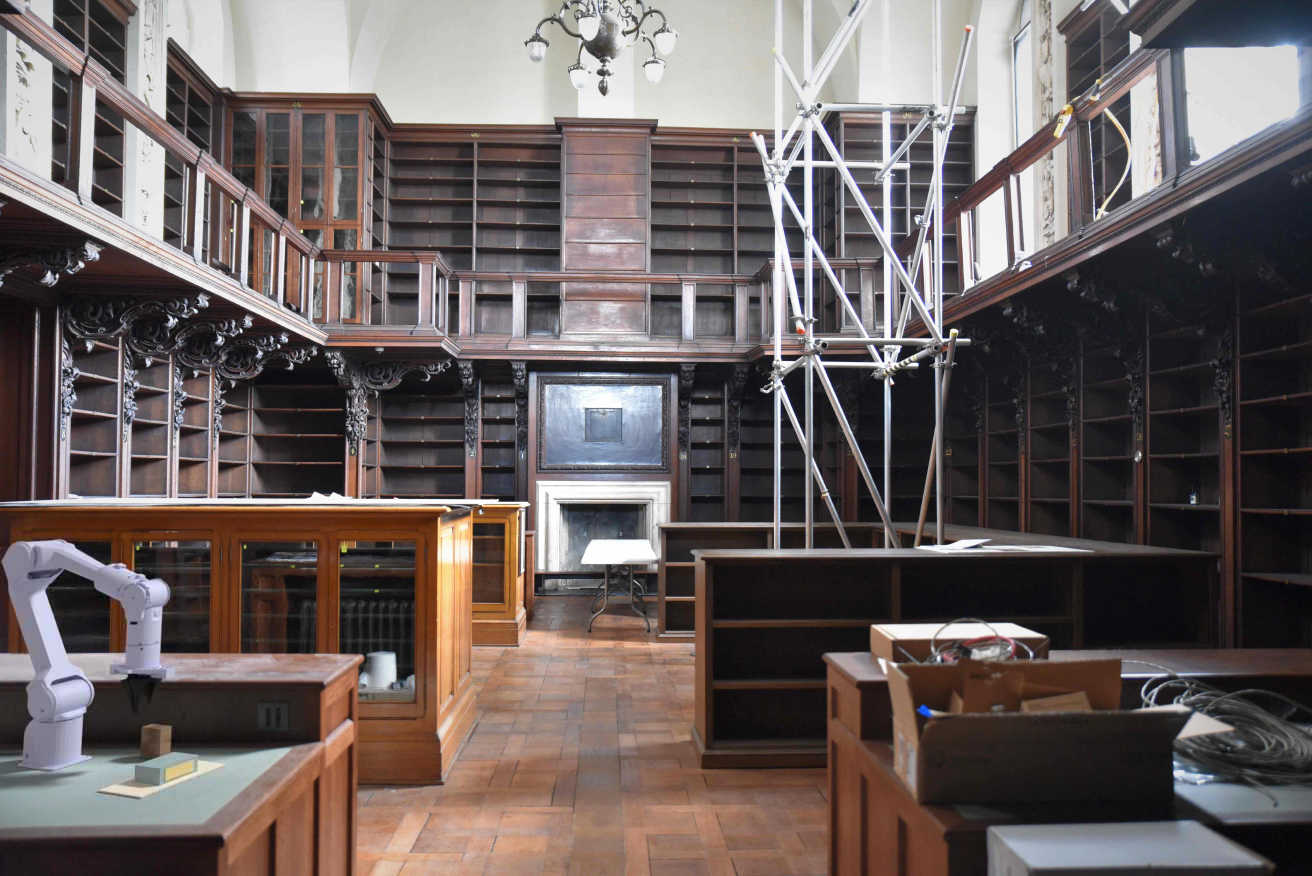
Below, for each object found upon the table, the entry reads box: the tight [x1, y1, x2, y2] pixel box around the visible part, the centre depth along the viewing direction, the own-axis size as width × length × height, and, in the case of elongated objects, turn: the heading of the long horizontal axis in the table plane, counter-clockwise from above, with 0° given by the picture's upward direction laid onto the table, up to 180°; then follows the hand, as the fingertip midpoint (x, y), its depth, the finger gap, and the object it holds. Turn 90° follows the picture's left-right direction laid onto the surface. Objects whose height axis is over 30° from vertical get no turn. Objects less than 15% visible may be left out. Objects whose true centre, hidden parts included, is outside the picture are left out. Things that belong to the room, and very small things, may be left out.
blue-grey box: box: [133, 751, 199, 786], centre depth 149 cm, size 3×8×6 cm
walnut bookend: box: [139, 723, 172, 760], centre depth 161 cm, size 5×2×6 cm, turn 72°
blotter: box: [97, 759, 227, 800], centre depth 149 cm, size 10×18×1 cm, turn 162°
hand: (140, 714), depth 155 cm, fingers closed
